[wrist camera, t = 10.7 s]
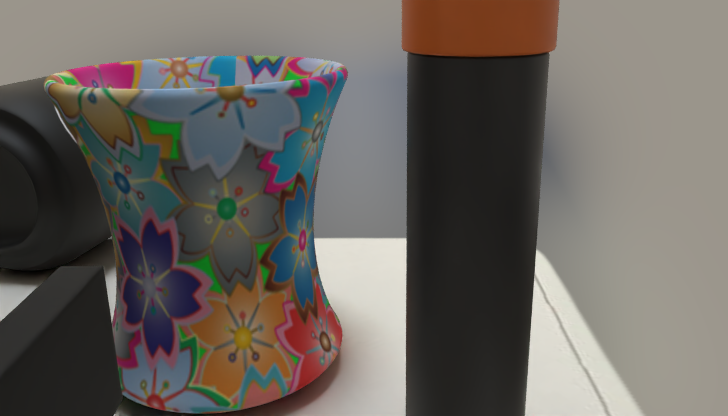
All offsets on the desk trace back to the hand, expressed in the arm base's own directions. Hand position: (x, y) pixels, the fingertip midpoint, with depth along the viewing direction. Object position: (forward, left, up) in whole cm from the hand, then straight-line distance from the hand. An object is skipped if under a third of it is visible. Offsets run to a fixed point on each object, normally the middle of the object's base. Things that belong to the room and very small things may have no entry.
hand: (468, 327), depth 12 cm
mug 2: (+14, -4, -7) cm, 16 cm away
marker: (+1, -1, -7) cm, 7 cm away
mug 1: (+27, +2, -4) cm, 27 cm away
